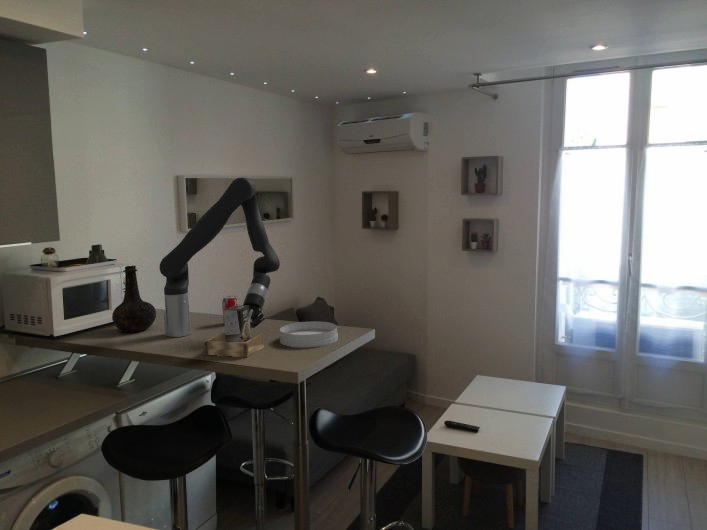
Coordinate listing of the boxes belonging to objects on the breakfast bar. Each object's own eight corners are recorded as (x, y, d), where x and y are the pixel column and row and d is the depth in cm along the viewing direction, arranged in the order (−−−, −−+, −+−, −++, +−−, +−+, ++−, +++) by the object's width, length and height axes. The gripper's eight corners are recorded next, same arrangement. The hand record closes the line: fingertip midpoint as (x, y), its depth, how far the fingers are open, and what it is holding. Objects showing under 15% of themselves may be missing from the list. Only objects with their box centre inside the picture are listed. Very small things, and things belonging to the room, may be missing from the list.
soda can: (235, 325, 242) (234, 298, 241) (220, 325, 244) (218, 298, 242) (242, 321, 249) (240, 295, 248) (227, 321, 251) (225, 295, 249)
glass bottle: (132, 336, 229) (126, 269, 225) (104, 332, 238) (98, 267, 234) (166, 327, 244) (161, 263, 241) (138, 324, 253) (133, 262, 250)
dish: (328, 331, 227) (327, 319, 226) (346, 343, 206) (345, 330, 206) (274, 337, 220) (273, 325, 219) (287, 351, 199) (286, 337, 198)
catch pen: (205, 355, 196) (204, 341, 196) (223, 345, 209) (223, 332, 208) (247, 357, 192) (246, 343, 191) (263, 347, 204) (263, 334, 204)
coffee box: (243, 355, 195) (240, 309, 193) (225, 355, 196) (222, 310, 194) (252, 348, 204) (249, 304, 202) (235, 348, 205) (232, 304, 203)
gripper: (236, 292, 215) (222, 330, 205) (267, 292, 211) (255, 331, 201) (243, 302, 221) (230, 340, 211) (274, 303, 217) (262, 342, 207)
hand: (242, 336), depth 206 cm, fingers closed
